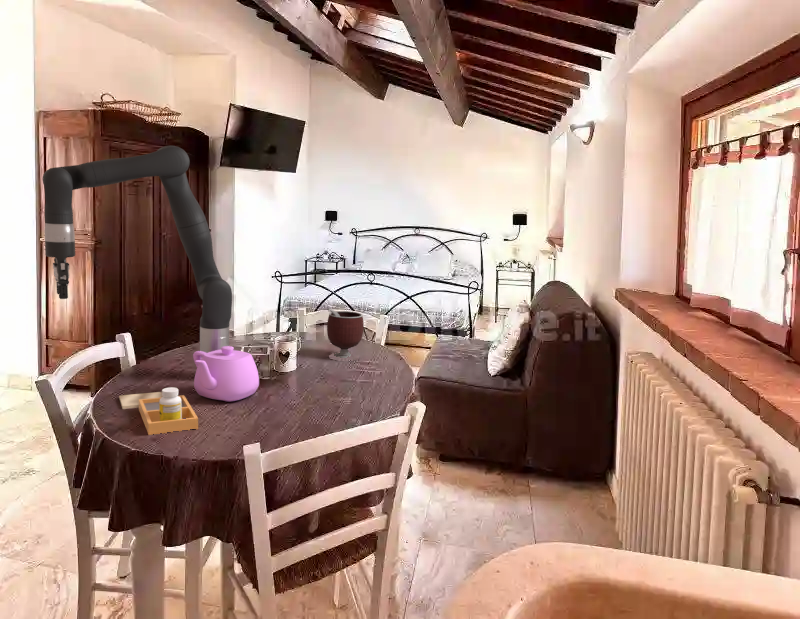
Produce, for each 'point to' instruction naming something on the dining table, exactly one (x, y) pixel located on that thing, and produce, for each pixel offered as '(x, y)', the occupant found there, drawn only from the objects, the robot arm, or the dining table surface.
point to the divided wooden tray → (155, 426)
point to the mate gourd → (344, 330)
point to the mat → (136, 399)
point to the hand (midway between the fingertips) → (62, 296)
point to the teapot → (225, 374)
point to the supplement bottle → (170, 405)
